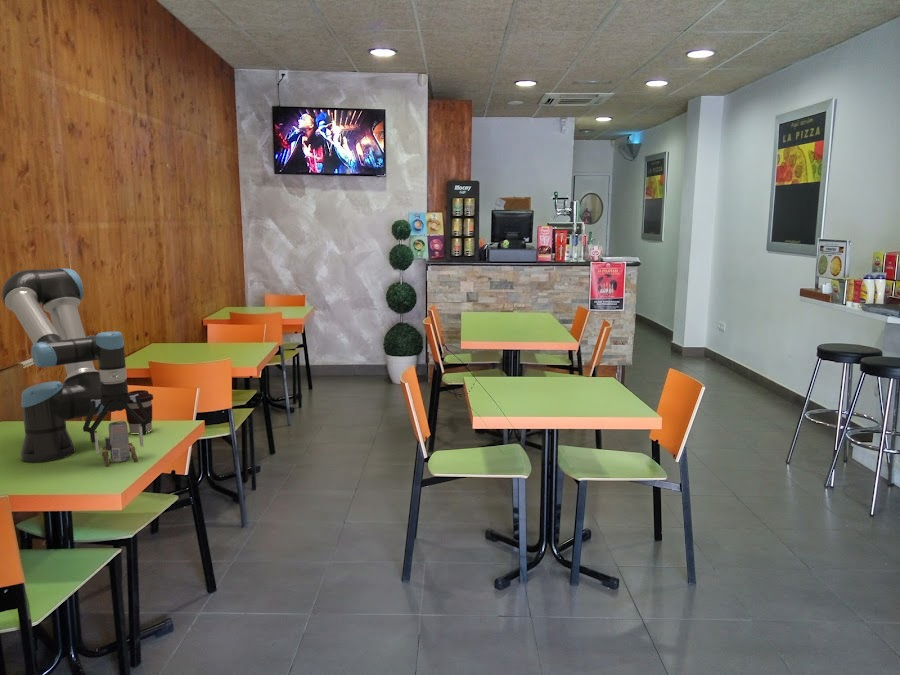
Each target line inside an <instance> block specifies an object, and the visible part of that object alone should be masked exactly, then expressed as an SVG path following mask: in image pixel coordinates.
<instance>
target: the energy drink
mask: <svg viewBox="0 0 900 675" xmlns="http://www.w3.org/2000/svg"><path fill="white" fill-rule="evenodd" d="M108 437H109V439H110V449H111V450H110V456H111V457H110V459H111V462H113V463H117V464H118V463H124V462H127V461H130V459H131V452H130V450H129V443H130V440H129V426H128V422H127V421H125V420H123V421H122V420H119V421H113V422H110V423H108Z"/></svg>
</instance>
